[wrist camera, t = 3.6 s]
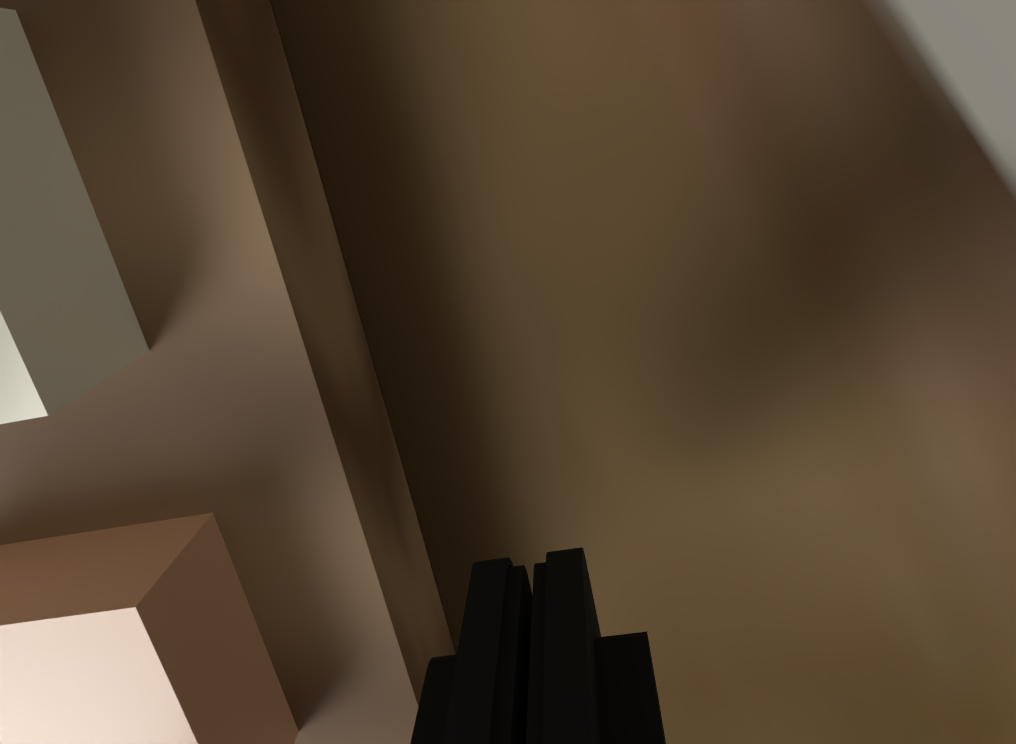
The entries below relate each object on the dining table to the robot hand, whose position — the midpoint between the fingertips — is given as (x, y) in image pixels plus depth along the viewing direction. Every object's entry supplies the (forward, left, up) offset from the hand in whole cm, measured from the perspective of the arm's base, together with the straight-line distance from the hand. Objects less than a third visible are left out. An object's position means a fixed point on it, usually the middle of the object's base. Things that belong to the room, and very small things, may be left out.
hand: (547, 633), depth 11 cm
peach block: (0, +8, -2) cm, 8 cm away
